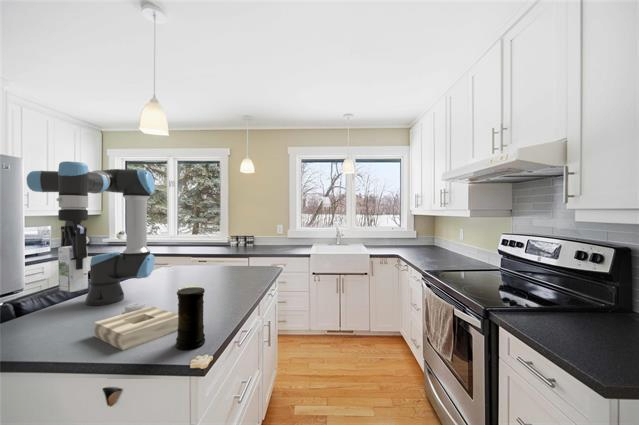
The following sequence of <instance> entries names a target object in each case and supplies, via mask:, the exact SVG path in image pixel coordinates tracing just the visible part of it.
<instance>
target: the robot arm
mask: <svg viewBox="0 0 639 425" xmlns="http://www.w3.org/2000/svg"><path fill="white" fill-rule="evenodd" d="M57 169H58V170H57V171H56V170H54V171H52V170H33V171H32V170H31V171H30V172H29V173H27V176H26V186H27V187H28V189H30V190H31V191H32V192H37V193H58V197H57V198H56V202H58V207H59V208H60V209H59V210H58V211H57V212H58V213H57V214H58V215H57V216H58V219H57V220H58V221H61V222H65V224H64V225H61V226H60V233H61V236H60V237H61V240H60V247H65V246H72V248H73V255H74V258H72V259H71V260H72V280H77V279H84V258H85V257H87V258H88V246H87V231H88V228H87V227H86V226H83V222H82V221H88V220H89V211H88V209H87V208H89V194H101V193H104V192H108V193H115V194H116V193H117V194H119V193H120V194H122V197H123V198H124V199H125V201H126V236H125V237H126V240H125V242H126V243H125V244H126V248H125V249H124V250H123V251H122V254H121V253H120V252H119V251H113V252H107V253H106V252H105V253H102V254H97V255H94V256H92V257H91V258H90V263H89V264H90V266H89V268H90V271H89V272H90V277H89V278H90V280H89V281H90V286H89V288H88V289H89V290H88V292H87V294H86V298H85V304H86V306H87V305H88V306H104V305H110V304H114V303H119V302H120V301H123V300H124V299H125V293H124V290H123V288H122V285H121V280H126V279H128V280H129V279H131V280H132V279H138V280H139V279H146V278H149V277H150V275H152V272H153V271H154V268H155V264H156V262H155V261H156V260H155V255H154V254H152V253H151V250H150V249H149V248H148V243H147V241H148V240H147V239H148V238H147V236H148V232H147V231H148V228H147V226H148V224H147V223H148V220H147V219H148V217H147V215H148V212H147V211H148V206H147V205H148V204H147V203H148V200H149V199H150V198H151V194H153V193H155V190H156V183H155V179H154V177H153V174H152V173H151V172H150V171H149V170H145V169H138V168H137V169H134V168H133V169H127V168H126V169H124V168H116V169H115V168H114V169H113V168H111V169H101V170H99V169H97V170H93V171H89V166H88V164H86V163H85V162H79V161H78V162H77V161H67V160H66V161H61V162H59V164H58V168H57Z"/></svg>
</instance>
